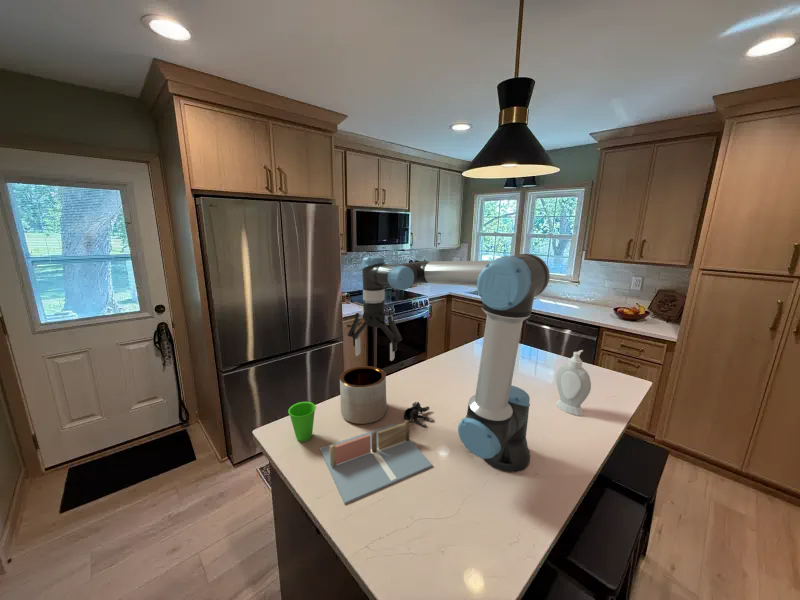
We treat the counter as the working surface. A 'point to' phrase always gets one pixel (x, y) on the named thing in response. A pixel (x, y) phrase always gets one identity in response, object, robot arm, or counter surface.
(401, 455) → the card
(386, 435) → the fixed fence panel
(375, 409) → the planter
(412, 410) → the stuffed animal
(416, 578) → the counter surface
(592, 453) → the counter surface
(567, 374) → the soap bottle
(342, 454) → the hinged fence panel
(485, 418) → the robot arm
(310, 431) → the cup
